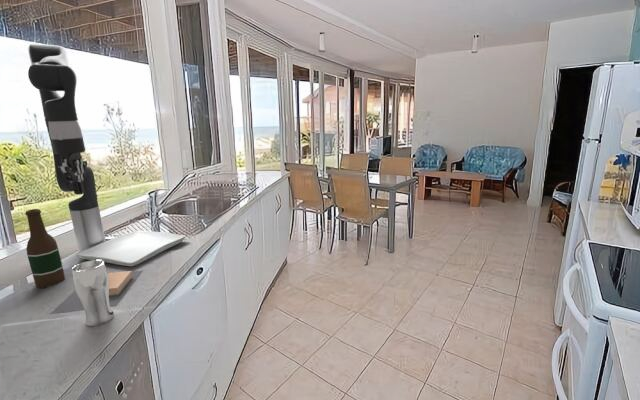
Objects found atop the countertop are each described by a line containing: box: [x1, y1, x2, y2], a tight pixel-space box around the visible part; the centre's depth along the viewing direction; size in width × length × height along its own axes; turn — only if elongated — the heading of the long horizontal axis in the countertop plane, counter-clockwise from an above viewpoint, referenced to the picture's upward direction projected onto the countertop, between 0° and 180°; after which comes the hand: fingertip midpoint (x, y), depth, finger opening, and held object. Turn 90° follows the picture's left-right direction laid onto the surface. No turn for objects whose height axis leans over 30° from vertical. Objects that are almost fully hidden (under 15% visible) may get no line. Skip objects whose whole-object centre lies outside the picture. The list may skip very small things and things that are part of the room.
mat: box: [49, 269, 144, 315], centre depth 98 cm, size 22×16×1 cm
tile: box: [107, 270, 133, 296], centre depth 98 cm, size 2×9×11 cm
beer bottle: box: [25, 208, 66, 289], centre depth 101 cm, size 8×8×24 cm
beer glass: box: [71, 260, 115, 327], centre depth 82 cm, size 7×7×15 cm
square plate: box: [75, 229, 187, 267], centre depth 127 cm, size 27×27×4 cm
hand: (79, 193), depth 101 cm, fingers closed
